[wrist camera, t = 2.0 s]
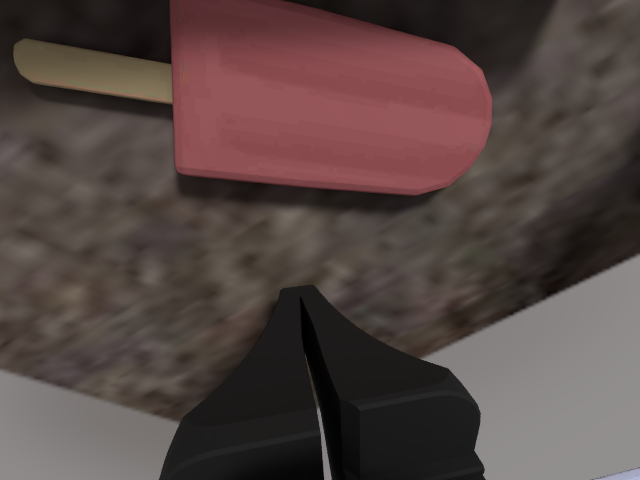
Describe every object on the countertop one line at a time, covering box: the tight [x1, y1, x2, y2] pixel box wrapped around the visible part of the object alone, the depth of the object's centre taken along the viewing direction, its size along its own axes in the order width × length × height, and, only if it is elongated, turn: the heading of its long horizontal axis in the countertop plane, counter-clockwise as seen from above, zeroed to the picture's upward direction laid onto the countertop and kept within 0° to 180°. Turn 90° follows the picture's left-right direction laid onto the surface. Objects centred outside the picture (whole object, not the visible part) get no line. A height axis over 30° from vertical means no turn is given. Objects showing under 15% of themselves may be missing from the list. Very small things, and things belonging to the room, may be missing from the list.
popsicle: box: [13, 0, 492, 196], centre depth 10 cm, size 5×2×15 cm
